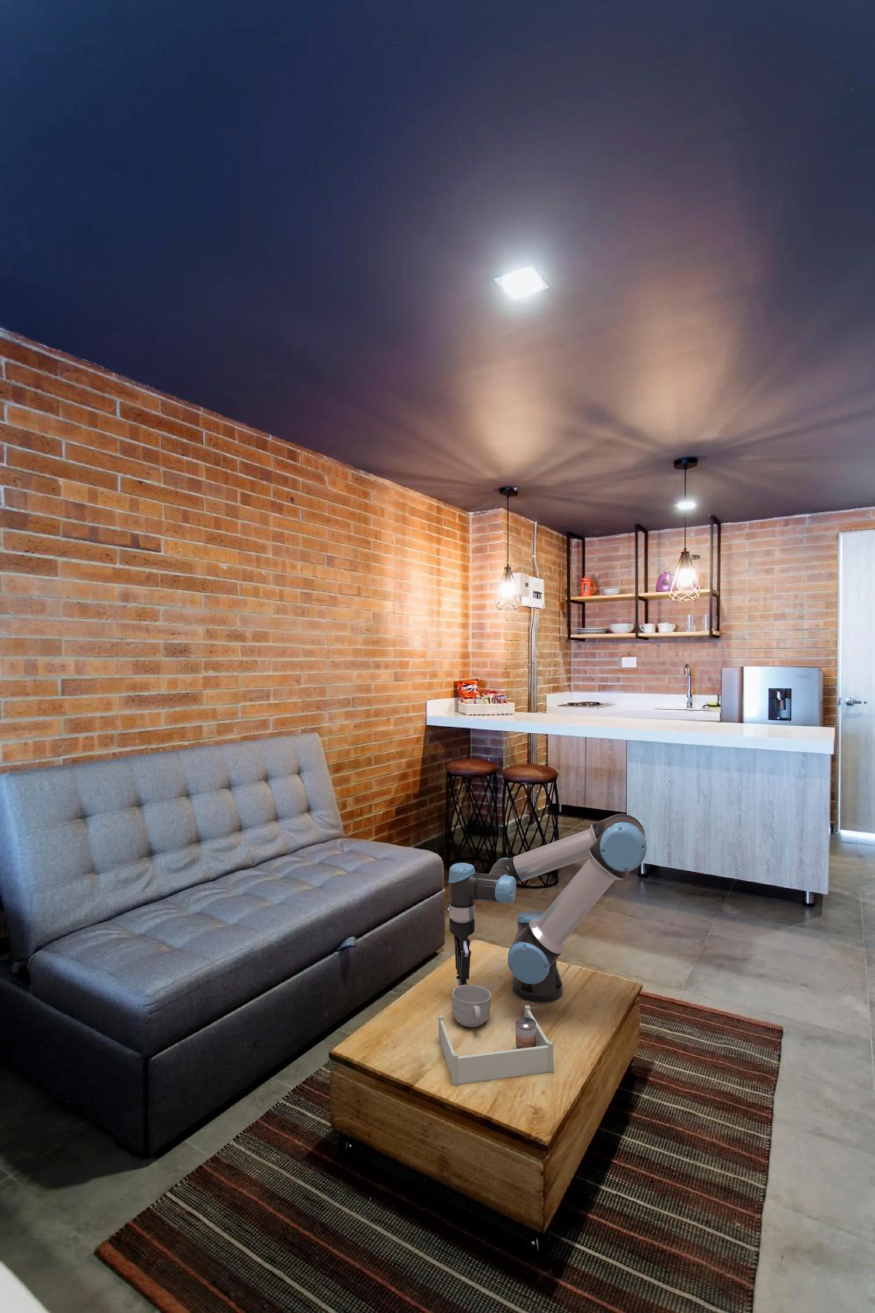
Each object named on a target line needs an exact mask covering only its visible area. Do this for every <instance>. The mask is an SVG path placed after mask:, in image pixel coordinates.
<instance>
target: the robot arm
mask: <svg viewBox="0 0 875 1313" xmlns="http://www.w3.org/2000/svg"><path fill="white" fill-rule="evenodd" d="M647 848H648V845H647V840H646V833H645V830H644V827H643V825H642V824H641V822H640V821H639V820H638V819H637V818H636V817H634V816H633V815H630V814H626V813H617V814H614V815H610V816H609V817H606V818H604V819H602V820H599V821H597V822H594V823H592V824H590V827H589V828H588V829H586V830H582V831H579V832H576V833H575V834H572V835H569V836H566V837H564V838H561V839H559V840H555V841H553V842H551V843H547V844H544V845H542V846H539V847H537V848H534V849H532V850H528V851H525V852H523V853H521V854H517V855H516V856H513V857H502V858H500V859H498V860H497V861H496V862H495V863H493V866H492V868H491V870H490V871H489V873H480V872H476V870H475V867H474V865H473V864H471V863H467V862H458V863H454V864H452V865H451V866H450V867H449V872H448V874H449V875H448V881H447V882H448V897H449V898H448V900H449V902H448V903H449V905H448V906H449V907H447V909H446V910H447V911H448V913H449V914H448V915H449V917H448V918H449V920H448V922H449V923H448V927H449V928H448V929H449V932H450V933H451V935H453V942H454V960H455V961H454V962H455V963H454V964H455V970H456V974H457V975H456V977H455V979H456V982H457V983H456V984H457V985H456V987H458V986H461V985H468V980H470V968H471V956H472V950H471V949H470V946H471V940H470V938H469V936H470V935H472V934H474V933H475V931H476V928H475V926H476V925H475V924H476V922H475V921H476V920H475V917H476V914H475V913H476V903H475V902H476V901H484V902H489V903H499V904H512V903H514V902H515V899H516V894H517V884H518V883H519V884H520V883H521V882H523V881H527V880H530V879H533V878H535V877H538V876H541V875H543V874H546V873H550V872H552V871H554V870H555V871H556V870H558V869H561V868H564V867H566V866H569V865H572V864H574V863H577V862H580V861H583V860H586V859H587V860H586V861H585V863H584V864H583V865H582V866H581V868H580V869H579V870H578V871H577V873H576V874H574V876H573V878H572V879H571V880H570V881H569V882H568V884H567V885H566V886H565V887H564V888H563V890H562V891H561V892H560V893H559V894H558V896H557V897H556V898H555V900H554V901H553V902H552V903H551V905H550V906H549V907H548V908H547V909H546V911H539V910H526V911H521V912H519V914H518V915H517V920H516V923H517V929H516V930H517V931H516V934H515V936H514V939H513V941H512V943H511V945H510V948H509V950H508V952H507V965H508V968H509V970H510V972H511V974H512V975H513V978H512V983H511V984H512V986H511V987H512V992H513V993H514V995H516V997H518V998H520V999H522V1000H525V1001H528V1002H532V1003H551V1002H555V1001H556V1000H558V999H559V998H561V997H562V995H563V987H564V986H563V981H562V978H561V976H560V973H559V972H560V971H559V969H558V966H557V965H558V963H557V959H558V958H559V957H560V955H561V954H562V953H563V952H564V944H563V943H564V942H565V941H566V939H567V938H568V937H569V935H570V934H572V932H573V931H574V929H576V927H577V926H578V925H579V923H580V922H581V921H582V920H583V919H584V918H585V917H586V916H587V914H588V913H589V912H590V910H591V909H592V908H593V907H594V906H595V904H596V903H597V902H598V900H600V898H602V896H603V895H604V894H605V892H606V891H607V890H608V889H609V888H610V886H611V885H612V884H613V883H614V882H615V881H623V880H624V879H625V878H626V877H627V876H628V874H629V873H630V872H631V871H633V870H635V869H637V868H638V867H639V866H641V864H642V863H643V861H644V860H645V857H646V855H647Z"/></svg>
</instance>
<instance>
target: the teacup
mask: <svg viewBox="0 0 875 1313" xmlns="http://www.w3.org/2000/svg"><path fill="white" fill-rule="evenodd" d="M451 996H452V997H451V1000H452V1001H451V1008H452V1010H451V1011H452V1015H453V1017H454V1019H455V1020H456V1021H457V1022H458V1023H459V1024H460V1025H461V1026H463V1027H466V1028H467V1027H468V1028H477V1027H480V1026H482V1025H483V1024H484V1023H485V1022H487V1021H488V1019H489V1016H490V1010H491V999H492V993H491V992H490V990H488V988H486V987H484V986H480V985H477V984H470V983H469V984H468V983H467V985H461V986H458V987H457V986H456V987H454V988H453V990H452V992H451Z"/></svg>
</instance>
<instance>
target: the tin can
mask: <svg viewBox="0 0 875 1313" xmlns="http://www.w3.org/2000/svg"><path fill="white" fill-rule="evenodd" d="M535 1020H536V1019H535ZM535 1020H533V1019H532V1018H529V1017H525V1016H522V1017H519V1018H516V1019H515V1049H522V1048H530V1047H536V1022H535Z"/></svg>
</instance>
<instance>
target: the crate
mask: <svg viewBox="0 0 875 1313" xmlns="http://www.w3.org/2000/svg"><path fill="white" fill-rule="evenodd" d="M524 1017H529V1018H532V1019H533V1020H535V1022H536V1047H530V1048H522V1049H516V1048H514V1049H506V1050H499V1051H492V1052H484V1053H477V1054H476V1053H475V1054H468V1055H458V1053H457V1052H455V1050H454V1047H453V1044H452V1042H451V1039H450V1035H449V1033H448V1030H447V1027H446V1025H445V1017H444V1015H443V1014H439V1015H438V1043H439V1045H440V1047H441V1050H442V1053H443V1056H444V1059H445V1062H446V1066H447V1069H448V1072H449V1074H450V1077H451V1083H452V1085H453V1086H458V1085H462V1084H463V1085H464V1084H469V1083H476V1082H486V1081H492V1080H493V1081H494V1080H499V1079H508V1078H514V1077H522V1076H530V1075H536V1074H543V1073H544V1074H545V1073H549V1074H550V1073H554V1043H553V1042H552V1040H550V1041H549V1039H548V1037H547V1036H546V1034H545V1033H544V1031H543V1030H542V1028H541V1026H540V1025H539V1023H538V1021H537V1020H536V1018H535V1017H534V1015H533V1013H532V1011H531V1006H530V1005H529V1004H528V1005H524Z"/></svg>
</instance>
